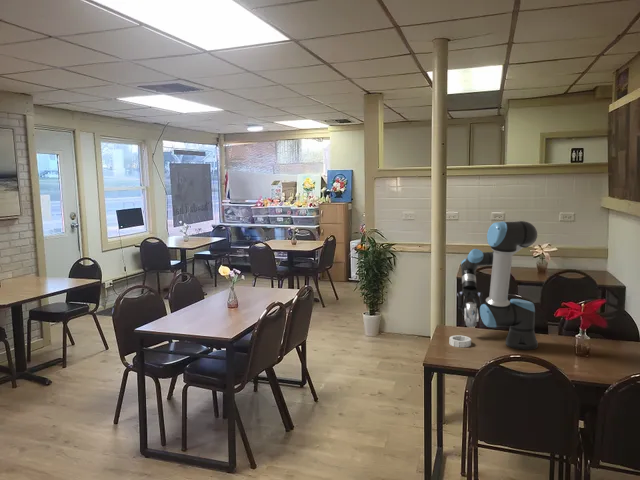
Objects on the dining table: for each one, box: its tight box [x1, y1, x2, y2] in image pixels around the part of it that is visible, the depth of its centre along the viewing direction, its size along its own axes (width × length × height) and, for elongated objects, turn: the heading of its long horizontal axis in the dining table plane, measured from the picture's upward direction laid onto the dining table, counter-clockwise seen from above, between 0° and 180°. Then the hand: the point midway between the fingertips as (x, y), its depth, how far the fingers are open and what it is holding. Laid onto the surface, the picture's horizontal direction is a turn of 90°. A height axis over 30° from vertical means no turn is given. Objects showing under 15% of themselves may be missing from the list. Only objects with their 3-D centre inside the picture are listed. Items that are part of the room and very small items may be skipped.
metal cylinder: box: [465, 301, 477, 328], centre depth 259 cm, size 6×6×12 cm
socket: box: [449, 334, 472, 348], centre depth 250 cm, size 10×10×3 cm
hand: (471, 319), depth 255 cm, fingers closed on metal cylinder, 5 cm apart
